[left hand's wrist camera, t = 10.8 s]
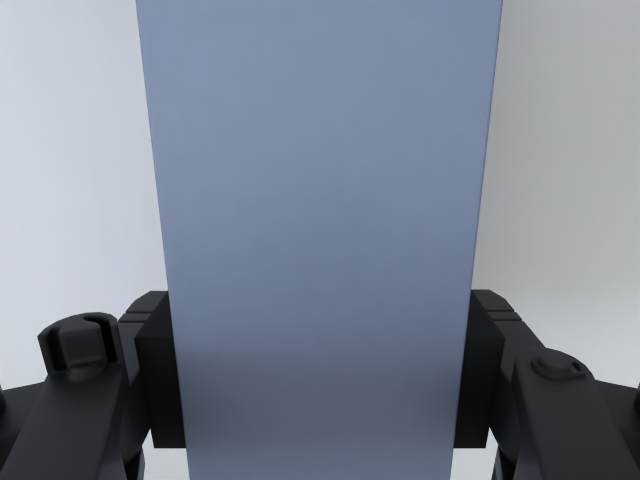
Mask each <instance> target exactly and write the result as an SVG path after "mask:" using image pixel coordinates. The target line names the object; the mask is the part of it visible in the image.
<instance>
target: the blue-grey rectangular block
mask: <svg viewBox="0 0 640 480" xmlns="http://www.w3.org/2000/svg"><path fill="white" fill-rule="evenodd" d="M502 2H503V0H136V8H137V17H138V26H139V35H140V44H141V53H142V61H143V70H144V79H145V88H146V97H147V106H148V115H149V123H150V132H151V141H152V150H153V159H154V168H155V177H156V185H157V194H158V203H159V212H160V221H161V230H162V239H163V247H164V256H165V265H166V274H167V283H168V292H169V301H170V309H171V318H172V327H173V336H174V345H175V354H176V363H177V371H178V380H179V389H180V398H181V407H182V416H183V425H184V433H185V442H186V451H187V460H188V469H189V478H190V480H450V475H451V465H452V456H453V447H454V438H455V429H456V420H457V411H458V402H459V393H460V384H461V375H462V366H463V357H464V347H465V338H466V329H467V320H468V311H469V302H470V293H471V284H472V275H473V266H474V257H475V248H476V238H477V229H478V220H479V211H480V202H481V193H482V184H483V175H484V166H485V157H486V148H487V139H488V130H489V120H490V111H491V102H492V93H493V84H494V75H495V66H496V57H497V48H498V39H499V30H500V21H501V12H502Z"/></svg>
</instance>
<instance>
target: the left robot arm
mask: <svg viewBox="0 0 640 480" xmlns="http://www.w3.org/2000/svg"><path fill="white" fill-rule="evenodd" d="M37 337H38V341H39V344H40V348H41V351H42V355H43V359H44V362H45V366H46V369H47V373H48V375H47V377H46V379H45V382H41V383H37V384H32V385H27V386H22V387H17V388H12V389H7V390H2V388H1V385H0V480H143V477H144V469H145V460H144V454H143V449H142V444H143V442H144V440H145V438H146V436H147V434H148V432H149V430H150V428H151V434H152V439H153V445H154V448H186V442H185V433H184V425H183V416H182V407H181V398H180V389H179V380H178V371H177V363H176V354H175V345H174V336H173V327H172V318H171V309H170V301H169V292H168V291H150V292H148V293H146V294H145V295H143V296H141V297H140V298H138V299H136V300H135V301H134V302H133V303H132V305H131V306H130V307H129V308H128V309H127V311H126V314H123V315H122V317H121V318H120V319H119V320H118V322H117V319H116V318H115V317H114V316H112V315H111V314H106V313H101V312H93V313H83V314H78V315H73V316H70V317H67V318H65V319H62V320H59V321H57V322H55V323H53V324H52V325H50V326H48V327H47V328H45V329H44V330H43V331H42V332H41V333H40V334H39V335H38V336H37ZM489 427H490V429H491V431H492V433H493V435H494V437H495V439H496V441H497V443H498V449H497V454H496V459H495V464H494V469H493V474H492V479H491V480H640V383H639V386H638V389H637V388H632V387H627V386H622V385H617V384H612V383H607V382H602V381H598V380H595V379H594V377H593V375H592V373H591V372H590V371H589V369H588V368H587V367H586V366H585V365H584V364H583V363H581V362H580V361H579V360H577V359H576V358H574V357H572V356H570V355H568V354H565V353H563V352H561V351H557V350H553V349H549V348H546V347H545V346H544V345H543V344H542V343H541V341H540V340H539V339H538V338H537V337H536V336H535V334H534V333H533V332H532V331H531V330H530V328H529V327H528V326H527V325H526V324H525V322H524V321H522V319H521V318H520V316H519V315H518V314H517V313H516V312H514V309H513V308H512V307H511V306H510V304H509V303H508V302H507V301H506V300H505V299H504V298H502V297H501V296H499V295H497V294H496V293H494V292H492V291H491V290H471V293H470V302H469V311H468V320H467V329H466V338H465V347H464V357H463V366H462V375H461V384H460V393H459V402H458V411H457V420H456V429H455V438H454V447H453V448H486V442H487V437H488V431H489Z"/></svg>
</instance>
